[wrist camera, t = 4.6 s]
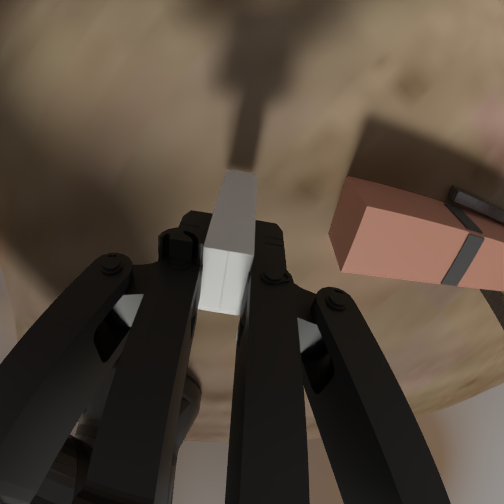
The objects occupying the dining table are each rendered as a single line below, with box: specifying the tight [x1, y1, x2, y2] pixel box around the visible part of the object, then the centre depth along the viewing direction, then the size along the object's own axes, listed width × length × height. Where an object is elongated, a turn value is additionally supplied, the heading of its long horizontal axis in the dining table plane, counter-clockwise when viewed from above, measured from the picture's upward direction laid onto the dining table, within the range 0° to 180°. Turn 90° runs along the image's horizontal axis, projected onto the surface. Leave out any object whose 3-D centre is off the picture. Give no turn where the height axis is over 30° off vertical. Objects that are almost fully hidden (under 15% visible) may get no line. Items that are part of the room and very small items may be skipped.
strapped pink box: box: [328, 176, 504, 291], centre depth 16 cm, size 16×4×4 cm, turn 82°
